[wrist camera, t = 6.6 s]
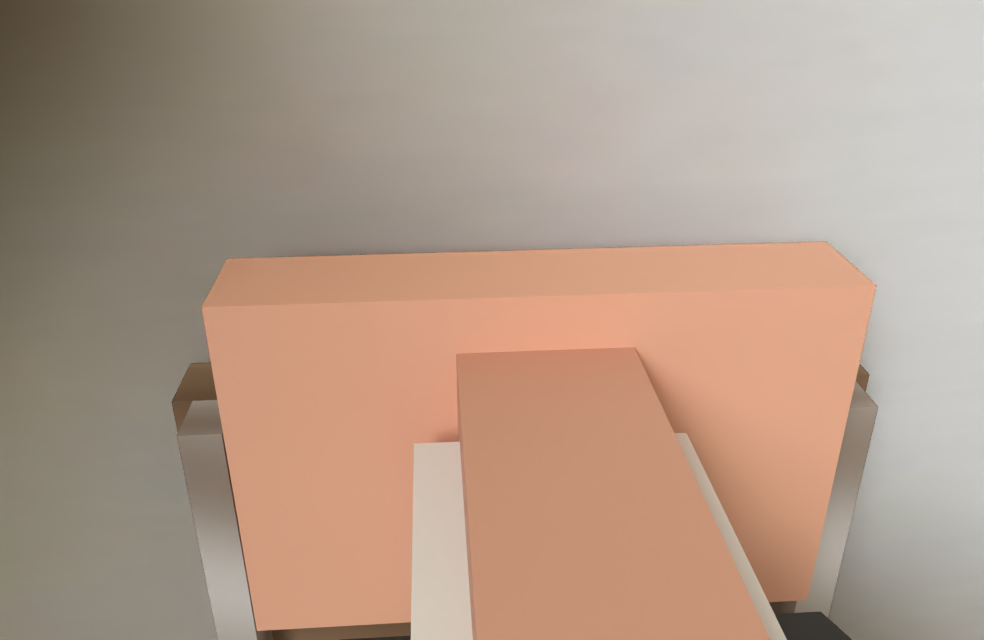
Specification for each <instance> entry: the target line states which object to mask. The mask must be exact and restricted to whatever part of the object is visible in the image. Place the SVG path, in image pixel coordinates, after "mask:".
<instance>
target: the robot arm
mask: <svg viewBox="0 0 984 640" xmlns="http://www.w3.org/2000/svg"><path fill="white" fill-rule="evenodd" d="M675 435H676V438H677V440H678V442H679V444H680V446H681V448H682V451H683V453H684V455H685V457H686V459H687V461H688V463H689V466H690V468H691V470H692V472H693V474H694V476H695V479H696V481H697V483H698V485H699V487H700V489H701V491H702V494H703V496H704V498H705V500H706V502H707V504H708V507H709V509H710V511H711V513H712V515H713V517H714V519H715V522H716V524H717V526H718V528H719V530H720V532H721V534H722V537H723V539H724V541H725V543H726V545H727V547H728V550H729V552H730V554H731V556H732V558H733V560H734V562H735V565H736V567H737V569H738V571H739V573H740V575H741V578H742V580H743V582H744V584H745V586H746V588H747V590H748V593H749V595H750V597H751V599H752V601H753V603H754V606H755V608H756V610H757V612H758V614H759V616H760V618H761V621H762V623H763V625H764V627H765V629H766V631H767V634H768V636H769V638H770V640H851V639H850V638H849V637H848V636H847V635H846V634H845V633H844V632H843V631H841V630H840V629H839V628H838V627H837V626H836V625H835V624H834V623H833V622H832V621H830V620H829V619H828V618H827V617H826V616H825V615H824V614H823V613H822V612H821V611H820V612H801V613H782V614H774V612H773V610H772V608H771V606H770V604H769V602H768V600H767V598H766V596H765V594H764V592H763V590H762V587H761V585H760V583H759V581H758V579H757V577H756V575H755V573H754V571H753V569H752V567H751V565H750V563H749V561H748V559H747V557H746V555H745V552H744V550H743V548H742V546H741V544H740V542H739V540H738V538H737V536H736V534H735V532H734V530H733V528H732V526H731V524H730V522H729V520H728V518H727V515H726V513H725V511H724V509H723V507H722V505H721V503H720V501H719V499H718V497H717V495H716V493H715V491H714V489H713V487H712V485H711V483H710V480H709V478H708V476H707V474H706V472H705V470H704V468H703V466H702V464H701V462H700V460H699V458H698V456H697V454H696V452H695V450H694V448H693V445H692V443H691V441H690V439H689V437H688V435H687V433H675ZM340 640H473V636H472V621H471V606H470V591H469V576H468V561H467V546H466V531H465V516H464V501H463V486H462V471H461V456H460V442H437V443H414V469H413V531H412V593H411V636H395V637H377V638H358V639H340Z"/></svg>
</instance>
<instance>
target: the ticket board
mask: <svg viewBox="0 0 984 640" xmlns="http://www.w3.org/2000/svg"><path fill="white" fill-rule="evenodd" d="M868 379H869V373H868V372H867V371H866V370H865V369H864V368H863V367H862V366H861V365H860V364H859V368H858V372H857V377H856V381H855V386H854V390H853V395H852V400H851V404H850V409H849V413H848V418H847V422H846V427H845V431H844V436H843V440H842V445H841V449H840V454H839V458H838V463H837V467H836V472H835V476H834V481H833V485H832V490H831V495H830V499H829V504H828V508H827V513H826V517H825V522H824V526H823V531H822V535H821V540H820V544H819V549H818V553H817V558H816V562H815V567H814V571H813V576H812V581H811V585H810V590H809V594H808V599H807V600H799V601H781V602H769V604H770V606H771V608H772V610H773V612H774V614H782V613H801V612H820V611H821V612H822V613H823V614H824V615H825V616H826V617H827V618H828V616H829V612H830V608H831V603H832V599H833V595H834V591H835V587H836V583H837V578H838V574H839V570H840V566H841V562H842V557H843V553H844V549H845V545H846V541H847V536H848V532H849V528H850V524H851V520H852V515H853V511H854V507H855V503H856V499H857V495H858V490H859V486H860V482H861V478H862V474H863V469H864V465H865V461H866V457H867V453H868V448H869V444H870V440H871V436H872V432H873V428H874V423H875V419H876V415H877V411H878V406H877V405H876V403H875V402H874V401H873V400H872V399H871V398H870V397H869V396H868V394H867V393H866V387H867V383H868ZM172 406H173V411H174V416H175V421H176V426H177V431H178V434H177V440H178V444H179V449H180V454H181V459H182V464H183V469H184V474H185V479H186V484H187V489H188V494H189V499H190V504H191V509H192V514H193V519H194V524H195V529H196V534H197V539H198V544H199V549H200V554H201V559H202V564H203V568H204V573H205V578H206V583H207V588H208V593H209V598H210V603H211V608H212V613H213V618H214V623H215V628H216V633H217V638H218V640H340V639H358V638H377V637H395V636H411V622H407V623H389V624H372V625H354V626H336V627H318V628H300V629H283V630H265V631H257V628H256V622H255V616H254V610H253V605H252V599H251V593H250V587H249V581H248V575H247V570H246V564H245V558H244V552H243V546H242V541H241V535H240V529H239V523H238V517H237V512H236V506H235V500H234V494H233V488H232V482H231V477H230V471H229V465H228V459H227V453H226V448H225V442H224V436H223V430H222V424H221V419H220V413H219V407H218V401H217V395H216V389H215V384H214V378H213V372H212V366H211V363H194V364H190V366H189V368H188V370H187V372H186V374H185V376H184V378H183V380H182V382H181V384H180V386H179V388H178V390H177V392H176V394H175V396H174V398H173V400H172Z"/></svg>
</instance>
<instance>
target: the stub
mask: <svg viewBox="0 0 984 640" xmlns="http://www.w3.org/2000/svg"><path fill="white" fill-rule="evenodd" d="M876 286H877V285H875V284H874V283H873V282H872V281H871V280H870V279H868V278H867V277H866V276H865V275H864V274H863V273H862V272H860V271H859V270H858V269H857V268H856V267H855V266H854V265H852V264H851V263H850V262H849V261H848V260H847V259H845V258H844V257H843V256H842V255H841V254H840V253H839V252H837V251H836V250H835V249H834V248H833V247H832V246H830V245H829V244H828V243H827V242H792V243H757V244H722V245H687V246H653V247H618V248H583V249H548V250H513V251H478V252H443V253H408V254H373V255H338V256H304V257H269V258H234V259H227V260H226V262H225V264H224V266H223V268H222V270H221V272H220V273H219V275H218V277H217V279H216V281H215V283H214V285H213V286H212V288H211V290H210V292H209V294H208V296H207V298H206V300H205V301H204V303H203V305H202V307H201V308H202V314H203V320H204V325H205V331H206V337H207V343H208V349H209V355H210V360H211V366H212V372H213V378H214V384H215V389H216V395H217V401H218V407H219V413H220V419H221V424H222V430H223V436H224V442H225V448H226V453H227V459H228V465H229V471H230V477H231V482H232V488H233V494H234V500H235V506H236V512H237V517H238V523H239V529H240V535H241V541H242V546H243V552H244V558H245V564H246V570H247V575H248V581H249V587H250V593H251V599H252V605H253V610H254V616H255V622H256V628H257V631H265V630H283V629H300V628H318V627H336V626H354V625H372V624H389V623H407V622H411V593H412V531H413V469H414V443H437V442H460V456H461V471H462V486H463V501H464V516H465V531H466V546H467V561H468V576H469V591H470V606H471V621H472V636H473V640H770V638H769V636H768V634H767V631H766V629H765V627H764V625H763V623H762V621H761V618H760V616H759V614H758V612H757V610H756V608H755V606H754V603H753V601H752V599H751V597H750V595H749V593H748V590H747V588H746V586H745V584H744V582H743V580H742V578H741V575H740V573H739V571H738V569H737V567H736V565H735V562H734V560H733V558H732V556H731V554H730V552H729V550H728V547H727V545H726V543H725V541H724V539H723V537H722V534H721V532H720V530H719V528H718V526H717V524H716V522H715V519H714V517H713V515H712V513H711V511H710V509H709V507H708V504H707V502H706V500H705V498H704V496H703V494H702V491H701V489H700V487H699V485H698V483H697V481H696V479H695V476H694V474H693V472H692V470H691V468H690V466H689V463H688V461H687V459H686V457H685V455H684V453H683V451H682V448H681V446H680V444H679V442H678V440H677V438H676V435H675V433H687V435H688V437H689V439H690V441H691V443H692V445H693V448H694V450H695V452H696V454H697V456H698V458H699V460H700V462H701V464H702V466H703V468H704V470H705V472H706V474H707V476H708V478H709V480H710V483H711V485H712V487H713V489H714V491H715V493H716V495H717V497H718V499H719V501H720V503H721V505H722V507H723V509H724V511H725V513H726V515H727V518H728V520H729V522H730V524H731V526H732V528H733V530H734V532H735V534H736V536H737V538H738V540H739V542H740V544H741V546H742V548H743V550H744V552H745V555H746V557H747V559H748V561H749V563H750V565H751V567H752V569H753V571H754V573H755V575H756V577H757V579H758V581H759V583H760V585H761V587H762V590H763V592H764V594H765V596H766V598H767V600H768V602H781V601H799V600H807V599H808V594H809V590H810V585H811V581H812V576H813V571H814V567H815V562H816V558H817V553H818V549H819V544H820V540H821V535H822V531H823V526H824V522H825V517H826V513H827V508H828V504H829V499H830V495H831V490H832V485H833V481H834V476H835V472H836V467H837V463H838V458H839V454H840V449H841V445H842V440H843V436H844V431H845V427H846V422H847V418H848V413H849V409H850V404H851V400H852V395H853V390H854V386H855V381H856V377H857V372H858V368H859V363H860V359H861V354H862V350H863V345H864V341H865V336H866V332H867V327H868V323H869V318H870V314H871V309H872V304H873V300H874V295H875V291H876Z"/></svg>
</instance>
